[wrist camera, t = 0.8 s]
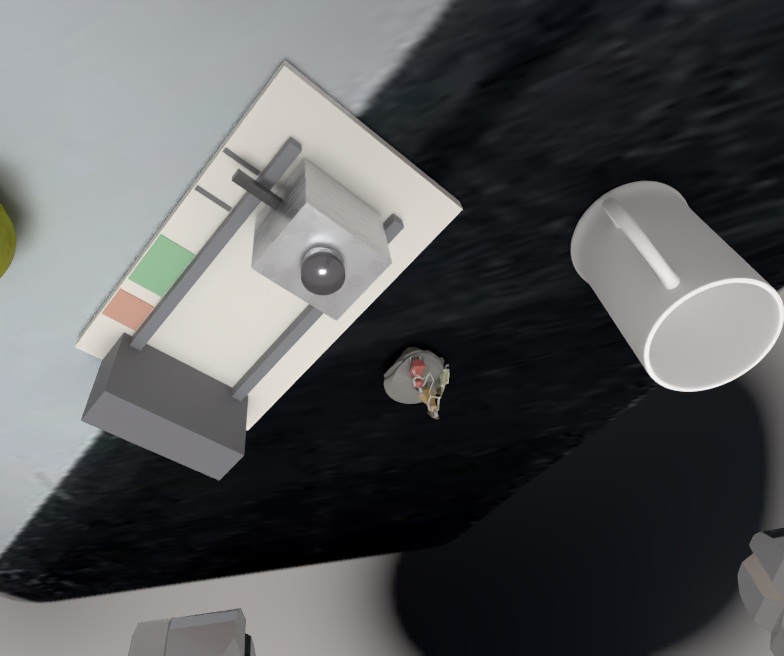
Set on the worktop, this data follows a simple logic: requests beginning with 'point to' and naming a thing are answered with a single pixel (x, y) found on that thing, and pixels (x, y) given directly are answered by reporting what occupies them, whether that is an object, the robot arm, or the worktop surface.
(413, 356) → the figurine
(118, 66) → the worktop surface
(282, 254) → the metal box with knob
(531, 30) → the worktop surface
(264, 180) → the gauge board
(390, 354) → the worktop surface
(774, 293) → the mug
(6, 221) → the apple
